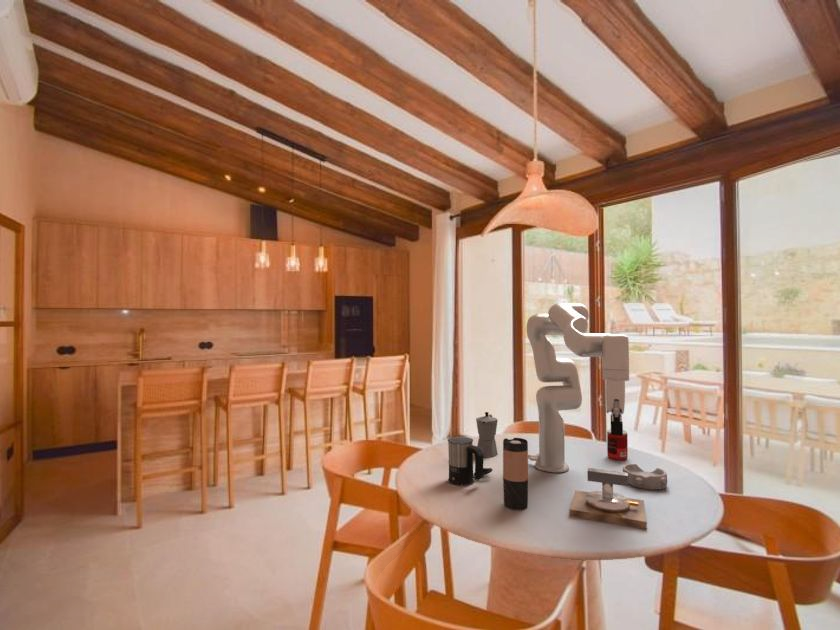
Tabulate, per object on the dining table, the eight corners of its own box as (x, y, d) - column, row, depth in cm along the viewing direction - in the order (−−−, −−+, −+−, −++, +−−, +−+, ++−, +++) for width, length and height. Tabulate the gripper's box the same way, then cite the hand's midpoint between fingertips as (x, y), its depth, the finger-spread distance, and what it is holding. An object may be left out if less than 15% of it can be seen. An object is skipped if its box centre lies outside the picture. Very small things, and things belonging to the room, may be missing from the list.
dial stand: (569, 516, 129) (569, 508, 129) (575, 496, 144) (575, 489, 144) (646, 529, 121) (646, 521, 121) (644, 506, 136) (644, 499, 136)
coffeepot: (494, 459, 183) (494, 415, 183) (472, 457, 186) (472, 414, 186) (501, 449, 197) (501, 409, 197) (481, 447, 200) (480, 407, 201)
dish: (620, 475, 165) (620, 461, 165) (662, 479, 160) (662, 465, 160) (625, 489, 151) (625, 474, 151) (671, 494, 146) (671, 478, 147)
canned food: (628, 456, 186) (628, 430, 186) (626, 461, 179) (625, 434, 179) (609, 453, 190) (609, 428, 190) (605, 458, 183) (605, 432, 184)
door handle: (584, 507, 130) (584, 475, 130) (587, 493, 141) (587, 463, 141) (638, 516, 124) (638, 482, 124) (637, 500, 135) (637, 469, 135)
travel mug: (523, 512, 132) (523, 445, 132) (499, 507, 136) (499, 441, 136) (531, 503, 138) (531, 439, 139) (508, 498, 143) (508, 436, 143)
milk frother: (443, 483, 156) (443, 441, 156) (459, 469, 170) (459, 431, 171) (482, 490, 150) (482, 446, 150) (495, 475, 164) (495, 435, 164)
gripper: (602, 371, 145) (603, 424, 144) (601, 377, 129) (602, 436, 128) (628, 372, 142) (629, 426, 141) (630, 378, 126) (631, 439, 126)
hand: (616, 431), depth 135 cm, fingers open, 9 cm apart
